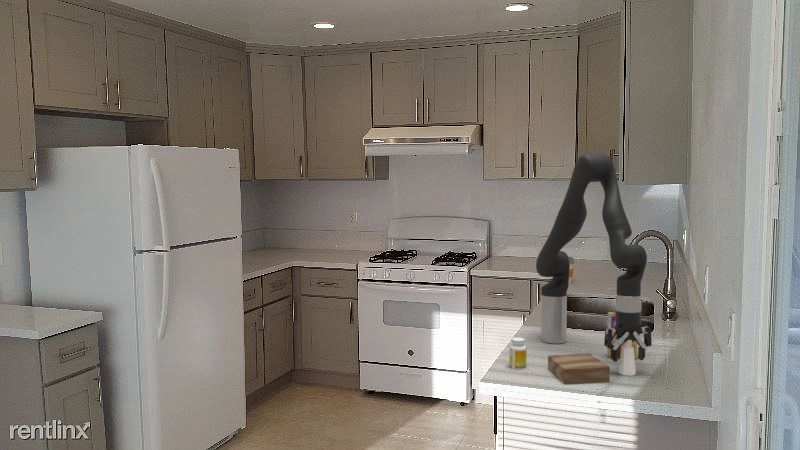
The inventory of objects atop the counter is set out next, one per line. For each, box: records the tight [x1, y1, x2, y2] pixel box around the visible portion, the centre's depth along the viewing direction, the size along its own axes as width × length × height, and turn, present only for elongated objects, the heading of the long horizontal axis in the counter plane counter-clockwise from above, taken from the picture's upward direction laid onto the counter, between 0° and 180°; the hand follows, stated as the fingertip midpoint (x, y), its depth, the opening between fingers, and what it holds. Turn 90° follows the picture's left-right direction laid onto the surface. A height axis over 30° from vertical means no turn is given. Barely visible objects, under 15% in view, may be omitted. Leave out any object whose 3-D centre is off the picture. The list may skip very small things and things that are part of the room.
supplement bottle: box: [508, 337, 528, 371], centre depth 203 cm, size 5×5×10 cm
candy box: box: [607, 311, 638, 360], centre depth 213 cm, size 9×4×15 cm, turn 89°
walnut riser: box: [547, 353, 611, 385], centre depth 195 cm, size 14×14×5 cm
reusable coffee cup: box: [568, 256, 575, 285], centre depth 345 cm, size 13×12×15 cm
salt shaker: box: [618, 340, 637, 377], centre depth 197 cm, size 5×5×11 cm
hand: (627, 360), depth 197 cm, fingers open, 8 cm apart
